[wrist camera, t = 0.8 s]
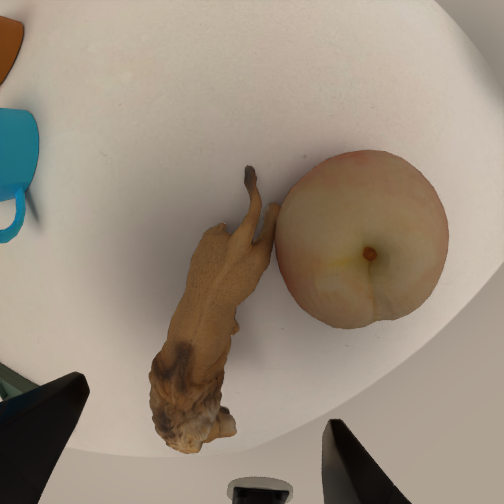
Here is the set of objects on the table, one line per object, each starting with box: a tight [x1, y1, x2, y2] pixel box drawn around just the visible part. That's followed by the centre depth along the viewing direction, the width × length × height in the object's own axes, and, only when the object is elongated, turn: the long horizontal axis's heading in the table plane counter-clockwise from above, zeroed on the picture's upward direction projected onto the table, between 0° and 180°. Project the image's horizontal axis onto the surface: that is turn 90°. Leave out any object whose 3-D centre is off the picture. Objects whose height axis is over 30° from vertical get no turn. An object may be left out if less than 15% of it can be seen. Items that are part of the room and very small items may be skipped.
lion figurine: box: [149, 165, 281, 454], centre depth 14 cm, size 15×5×9 cm, turn 169°
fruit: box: [275, 150, 449, 329], centre depth 12 cm, size 8×8×8 cm
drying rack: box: [0, 363, 39, 401], centre depth 23 cm, size 8×15×6 cm, turn 86°
